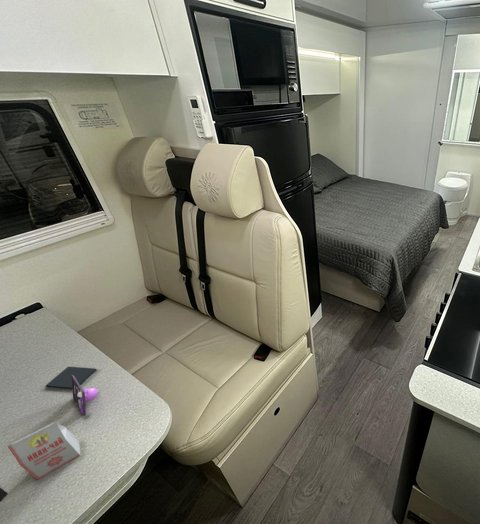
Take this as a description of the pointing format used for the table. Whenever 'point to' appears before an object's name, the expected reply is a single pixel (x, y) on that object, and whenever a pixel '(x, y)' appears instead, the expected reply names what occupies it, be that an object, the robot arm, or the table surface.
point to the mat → (66, 377)
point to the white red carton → (45, 450)
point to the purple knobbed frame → (82, 394)
